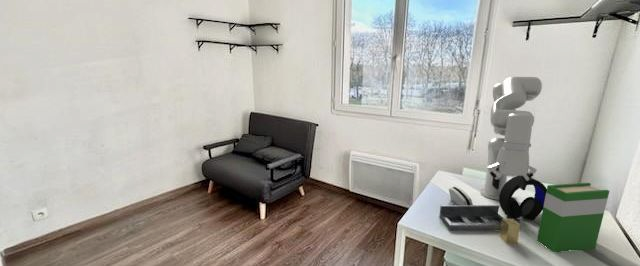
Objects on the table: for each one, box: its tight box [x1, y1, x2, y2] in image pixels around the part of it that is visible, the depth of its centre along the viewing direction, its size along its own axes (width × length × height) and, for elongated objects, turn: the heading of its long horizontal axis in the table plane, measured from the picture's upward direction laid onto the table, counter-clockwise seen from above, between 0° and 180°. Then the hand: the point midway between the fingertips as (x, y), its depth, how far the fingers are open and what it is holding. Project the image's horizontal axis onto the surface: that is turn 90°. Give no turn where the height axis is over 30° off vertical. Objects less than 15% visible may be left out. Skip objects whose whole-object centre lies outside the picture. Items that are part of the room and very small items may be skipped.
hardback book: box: [536, 182, 610, 254], centre depth 108 cm, size 18×7×24 cm, turn 97°
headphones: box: [498, 176, 547, 221], centre depth 127 cm, size 19×7×20 cm, turn 94°
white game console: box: [448, 185, 473, 205], centre depth 141 cm, size 17×5×10 cm, turn 3°
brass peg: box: [498, 218, 521, 244], centre depth 113 cm, size 4×4×8 cm
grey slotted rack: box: [438, 204, 505, 232], centre depth 125 cm, size 26×11×6 cm, turn 89°
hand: (508, 188), depth 110 cm, fingers open, 9 cm apart
